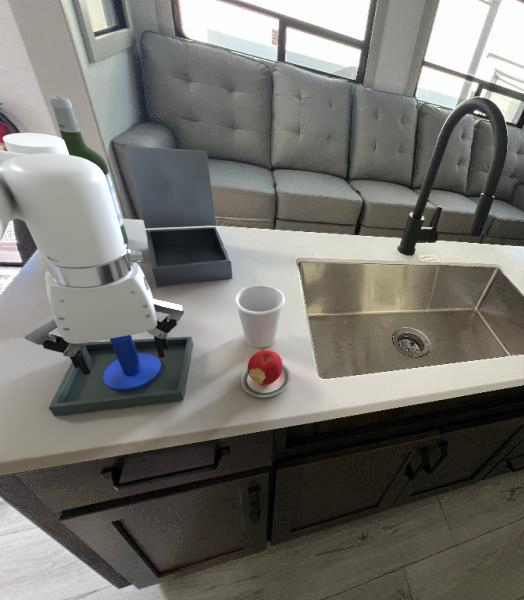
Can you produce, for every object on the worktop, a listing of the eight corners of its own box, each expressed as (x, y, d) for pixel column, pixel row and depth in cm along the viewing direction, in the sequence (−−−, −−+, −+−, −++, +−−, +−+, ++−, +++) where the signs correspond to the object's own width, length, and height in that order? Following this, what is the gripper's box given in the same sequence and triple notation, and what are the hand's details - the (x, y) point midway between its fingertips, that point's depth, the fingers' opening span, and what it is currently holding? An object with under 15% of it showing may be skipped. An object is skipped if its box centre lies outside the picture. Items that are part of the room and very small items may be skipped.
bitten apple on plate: (293, 393, 57) (295, 369, 53) (242, 403, 53) (240, 377, 49) (286, 359, 62) (287, 334, 58) (240, 366, 59) (238, 340, 55)
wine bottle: (80, 239, 75) (23, 89, 58) (123, 234, 80) (83, 94, 63) (89, 256, 72) (31, 101, 54) (133, 249, 77) (93, 106, 59)
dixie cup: (276, 319, 70) (276, 281, 64) (289, 346, 65) (290, 308, 59) (233, 328, 65) (229, 288, 59) (243, 358, 60) (240, 317, 54)
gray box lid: (206, 151, 75) (203, 148, 79) (125, 146, 67) (125, 143, 70) (216, 225, 84) (213, 220, 87) (145, 228, 75) (144, 222, 79)
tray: (54, 416, 45) (48, 407, 44) (85, 351, 54) (81, 342, 53) (183, 400, 51) (181, 392, 50) (193, 344, 60) (191, 336, 59)
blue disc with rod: (91, 379, 50) (72, 342, 45) (136, 350, 56) (124, 313, 51) (130, 398, 49) (115, 362, 44) (172, 366, 55) (162, 331, 50)
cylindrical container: (53, 274, 65) (-9, 141, 51) (70, 255, 70) (18, 130, 56) (98, 275, 68) (51, 149, 53) (112, 257, 73) (72, 138, 58)
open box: (232, 278, 77) (231, 261, 74) (156, 287, 69) (151, 268, 66) (218, 243, 87) (216, 226, 84) (150, 247, 79) (145, 229, 76)
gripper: (172, 243, 47) (188, 330, 57) (-10, 254, 37) (49, 357, 48) (179, 271, 43) (196, 360, 53) (-26, 293, 33) (43, 397, 43)
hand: (126, 358), depth 50 cm, fingers open, 8 cm apart
